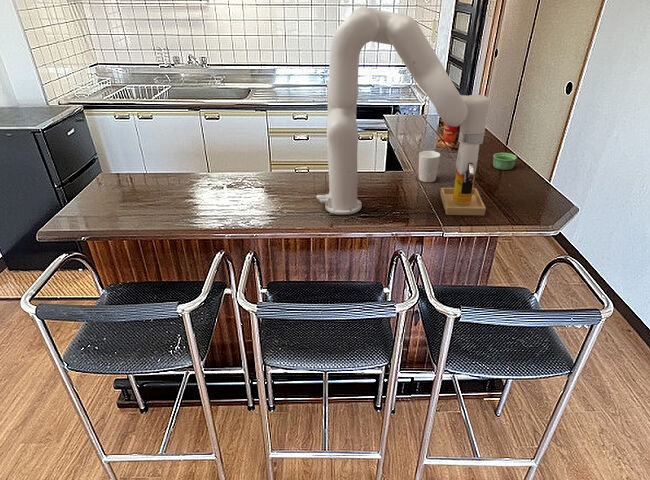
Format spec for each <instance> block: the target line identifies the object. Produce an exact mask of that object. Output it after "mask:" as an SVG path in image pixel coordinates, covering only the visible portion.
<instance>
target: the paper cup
mask: <svg viewBox="0 0 650 480" xmlns="http://www.w3.org/2000/svg"><path fill="white" fill-rule="evenodd" d="M458 128H459V126H456V127H451V126H448V125H447V124H445V123H444V122H443V133H442V134H443V137H442V140H443V142H445V143H454V142H456V139H457V133H458Z"/></svg>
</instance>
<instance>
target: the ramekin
mask: <svg viewBox="0 0 650 480" xmlns="http://www.w3.org/2000/svg"><path fill="white" fill-rule="evenodd" d="M492 158H493V159H492V160H493V161H492V166H493V167H494V169H497V170H502V171H507V170H508V171H510V170H513V169H514V167H515V164H516V161H517V159H518V157H517V155H515V154H513V153H508V152H497V153H494V154H493V157H492Z"/></svg>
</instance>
